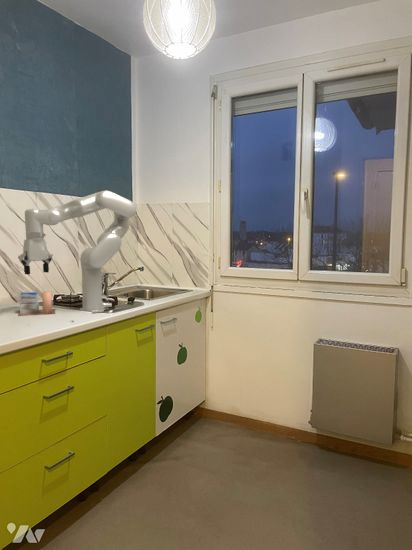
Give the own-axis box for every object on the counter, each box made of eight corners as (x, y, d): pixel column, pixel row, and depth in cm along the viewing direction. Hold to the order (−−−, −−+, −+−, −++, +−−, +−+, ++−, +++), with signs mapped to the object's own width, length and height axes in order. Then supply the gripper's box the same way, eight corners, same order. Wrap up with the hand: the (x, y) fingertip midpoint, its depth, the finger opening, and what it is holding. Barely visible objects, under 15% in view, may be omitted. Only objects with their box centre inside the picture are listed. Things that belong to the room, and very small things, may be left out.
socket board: (55, 311, 204) (55, 300, 204) (55, 316, 191) (55, 305, 191) (20, 313, 199) (19, 302, 198) (17, 318, 186) (17, 307, 185)
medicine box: (20, 310, 207) (20, 293, 206) (21, 308, 211) (20, 291, 210) (37, 309, 209) (37, 292, 209) (37, 307, 214) (37, 291, 213)
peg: (52, 312, 195) (51, 291, 194) (51, 313, 191) (51, 292, 190) (42, 312, 194) (42, 291, 193) (42, 314, 190) (42, 292, 189)
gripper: (46, 236, 198) (48, 271, 200) (12, 236, 183) (14, 274, 185) (56, 236, 194) (57, 272, 196) (22, 236, 179) (24, 275, 181)
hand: (36, 273), depth 190 cm, fingers open, 9 cm apart
